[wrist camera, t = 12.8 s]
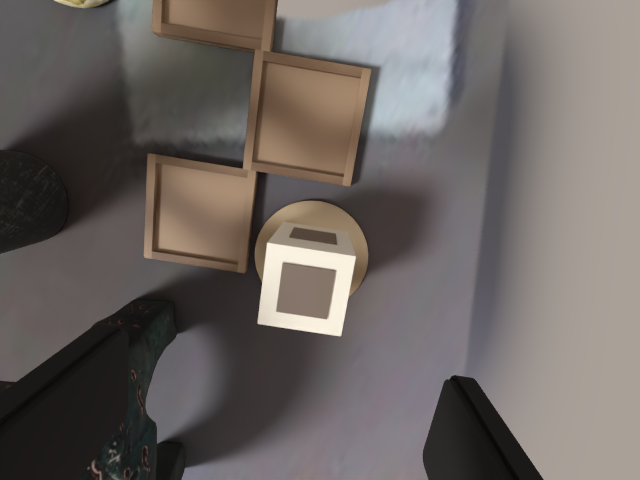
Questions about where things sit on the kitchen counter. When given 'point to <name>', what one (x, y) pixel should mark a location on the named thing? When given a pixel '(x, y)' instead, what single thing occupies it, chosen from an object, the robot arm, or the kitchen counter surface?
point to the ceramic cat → (139, 401)
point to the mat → (318, 217)
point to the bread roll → (82, 3)
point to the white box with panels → (307, 279)
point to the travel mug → (29, 201)
